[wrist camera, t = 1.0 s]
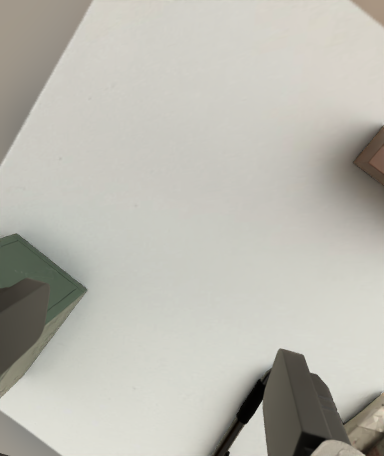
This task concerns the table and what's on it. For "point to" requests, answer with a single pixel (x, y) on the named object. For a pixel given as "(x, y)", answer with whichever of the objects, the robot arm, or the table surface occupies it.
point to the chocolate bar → (373, 158)
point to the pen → (243, 416)
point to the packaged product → (368, 429)
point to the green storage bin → (58, 299)
